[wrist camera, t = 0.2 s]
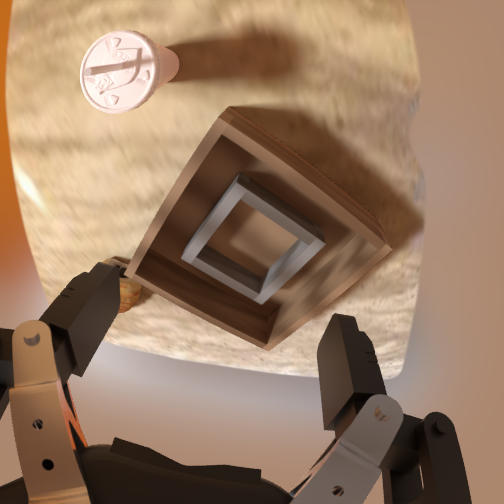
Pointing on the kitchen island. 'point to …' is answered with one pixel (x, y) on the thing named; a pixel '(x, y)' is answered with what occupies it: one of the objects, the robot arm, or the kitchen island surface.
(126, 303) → the pastry
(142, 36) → the smoothie
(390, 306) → the kitchen island surface
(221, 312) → the crate
